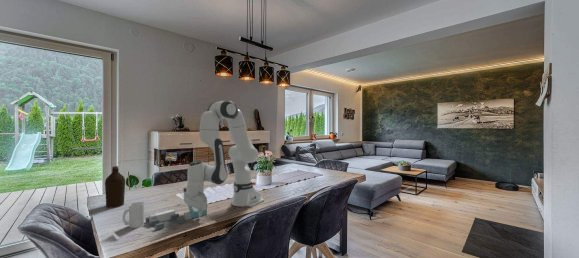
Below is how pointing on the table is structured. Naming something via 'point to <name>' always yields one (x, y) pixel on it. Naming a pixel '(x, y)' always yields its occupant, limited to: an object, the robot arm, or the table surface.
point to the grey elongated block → (162, 216)
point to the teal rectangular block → (193, 214)
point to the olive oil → (115, 188)
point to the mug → (135, 215)
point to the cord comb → (165, 222)
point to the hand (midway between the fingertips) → (195, 214)
